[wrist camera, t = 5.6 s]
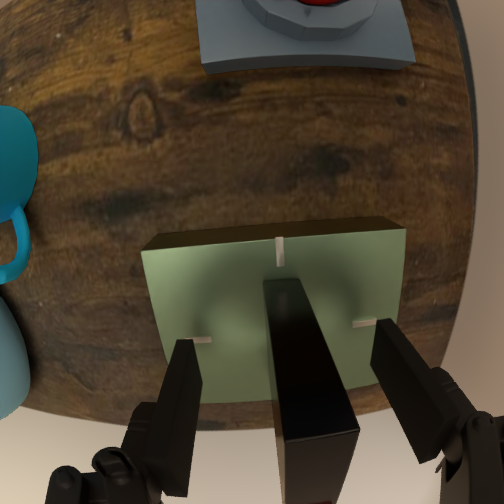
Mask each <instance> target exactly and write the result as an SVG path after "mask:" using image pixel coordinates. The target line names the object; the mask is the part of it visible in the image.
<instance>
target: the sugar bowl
mask: <svg viewBox="0 0 504 504" xmlns="http://www.w3.org/2000/svg"><path fill="white" fill-rule="evenodd" d="M29 388H30V369H29V361H28V356H27V350H26V346H25V343H24V339H23V337H22V334H21V331H20V329H19V327H18V325H17V323H16V321H15V319H14V317H13V315H12V313H11V312H10V310H9V308H8V306H7V305H6V303H5V302H4V300H3V299H2V297H1V296H0V420H1V419H3V418H5V417H6V416H8V415H9V414H10V413H12V412H13V411H14V410H15V409H17V408H18V407H19V406H20V405H21V404H22V403H23V401H24V400H25V399H26V397H27V395H28V392H29Z"/></svg>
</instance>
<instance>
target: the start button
mask: <svg viewBox="0 0 504 504" xmlns="http://www.w3.org/2000/svg"><path fill="white" fill-rule="evenodd" d="M298 1H301V2H305V3H309V4H316V5H325V4H331V3H334V2H337V1H339V0H298Z"/></svg>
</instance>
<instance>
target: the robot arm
mask: <svg viewBox="0 0 504 504" xmlns="http://www.w3.org/2000/svg"><path fill="white" fill-rule="evenodd" d="M370 366H371V368H372V370H373V372H374V374H375V376H376V378H377V379H378V381H379V383H380V385H381V387H382V389H383V391H384V393H385V395H386V397H387V399H388V401H389V403H390V405H391V407H392V408H393V410H394V412H395V414H396V416H397V418H398V420H399V422H400V424H401V426H402V428H403V430H404V432H405V434H406V437H407V439H408V441H409V443H410V445H411V447H412V449H413V451H414V453H415V455H416V457H417V459H418V462H419V464H422V463H424V462H427V461H430V460H432V459H435V458H436V457H437V456H438V454H439V453H440V451H441V449H442V451H443V453H444V455H445V457H444V458H443V459H442V461H441V462H440V464H439V465H438V467H437V468H436V471H435V473H438V471H439V470H440V469H441V467H442V472H441V492H440V504H504V416H500V417H493V416H492V415H491V414H489V413H487V412H485V411H477V410H476V409H475V408H474V406H473V405H472V404H471V402H470V401H469V399H468V398H467V397H466V395H465V394H464V393H463V391H462V390H461V389H460V388H459V386H458V385H457V384H456V382H454V380H453V378H452V377H451V376H450V375H449V373H448V372H446V371H445V370H443V369H442V368H440V367H439V366H438V367H435V368H432V369H430V368H429V367H428V365H427V364H426V363H425V361H424V360H423V359H422V357H421V356H420V355H419V353H418V352H417V351H416V349H415V348H414V347H413V346H412V344H411V343H410V342H409V340H408V339H407V338H406V336H405V335H404V334H403V333H402V331H401V330H400V329H399V328H398V326H397V325H396V324H395V323H394V321H393V320H392V319H391V318H386V319H380V320H376V328H375V335H374V342H373V348H372V354H371V360H370ZM202 386H203V381H202V377H201V372H200V368H199V364H198V360H197V355H196V351H195V346H194V342H193V339H177V340H176V343H175V346H174V349H173V352H172V355H171V358H170V362H169V365H168V368H167V371H166V374H165V377H164V381H163V384H162V387H161V390H160V394H159V397H158V400H157V403H156V402H141V403H140V404H139V405H138V406H137V407H136V408H135V410H134V411H133V414H132V417H131V419H130V422H129V425H128V428H127V429H128V430H127V431H126V434H125V437H124V439H123V443H122V445H121V448H118V447H107V448H104V449H101V450H100V451H98V452H97V453H96V454H95V456H94V457H93V459H92V467H93V468H94V469H95V471H96V472H91V473H80V472H79V471H78V470H77V469H76V468H75V467H71V466H61V467H59V468H57V469H56V470H54V471H53V472H52V475H51V477H50V481H49V486H48V490H47V495H46V500H45V504H163V502H162V501H161V494H162V490H163V492H164V493H165V494H166V495H167V496H175V497H187V494H188V486H189V478H190V470H191V463H192V456H193V448H194V441H195V434H196V427H197V420H198V413H199V406H200V399H201V393H202Z"/></svg>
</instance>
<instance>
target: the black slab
mask: <svg viewBox="0 0 504 504" xmlns="http://www.w3.org/2000/svg"><path fill="white" fill-rule="evenodd" d="M262 286H263V300H264V313H265V327H266V341H267V355H268V370H269V382H270V391H271V400H272V409H273V419H274V428H275V437H276V447H277V456H278V465H279V475H280V484H281V493H282V503H283V504H336V503H337V500H338V497H339V495H340V492H341V489H342V486H343V483H344V481H345V478H346V475H347V472H348V469H349V466H350V463H351V460H352V456H353V453H354V450H355V446H356V443H357V440H358V436H359V433H360V427H359V424H358V421H357V419H356V416H355V413H354V411H353V408H352V406H351V403H350V400H349V398H348V395H347V393H346V390H345V387H344V385H343V382H342V380H341V377H340V375H339V372H338V370H337V367H336V365H335V362H334V360H333V357H332V355H331V352H330V350H329V347H328V345H327V342H326V340H325V337H324V335H323V333H322V330H321V328H320V325H319V323H318V320H317V318H316V316H315V313H314V311H313V308H312V306H311V304H310V301H309V299H308V297H307V294H306V292H305V290H304V287H303V285H302V283H301V280H300V279H291V280H280V281H269V282H263V283H262Z"/></svg>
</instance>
